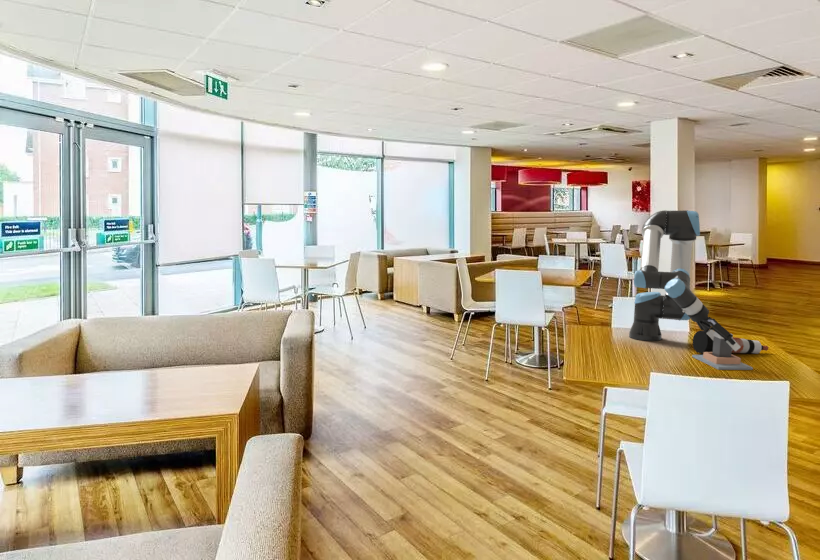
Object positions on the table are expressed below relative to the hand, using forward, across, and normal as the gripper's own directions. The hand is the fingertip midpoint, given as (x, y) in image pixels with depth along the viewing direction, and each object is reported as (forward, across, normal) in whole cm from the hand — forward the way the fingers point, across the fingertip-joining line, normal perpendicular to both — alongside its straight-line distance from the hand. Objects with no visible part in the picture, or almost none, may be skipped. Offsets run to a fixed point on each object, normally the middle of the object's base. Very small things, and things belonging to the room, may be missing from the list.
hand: (728, 345), depth 231 cm
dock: (+4, 0, -7) cm, 8 cm away
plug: (+3, 0, -6) cm, 7 cm away
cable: (+15, -17, +3) cm, 22 cm away
